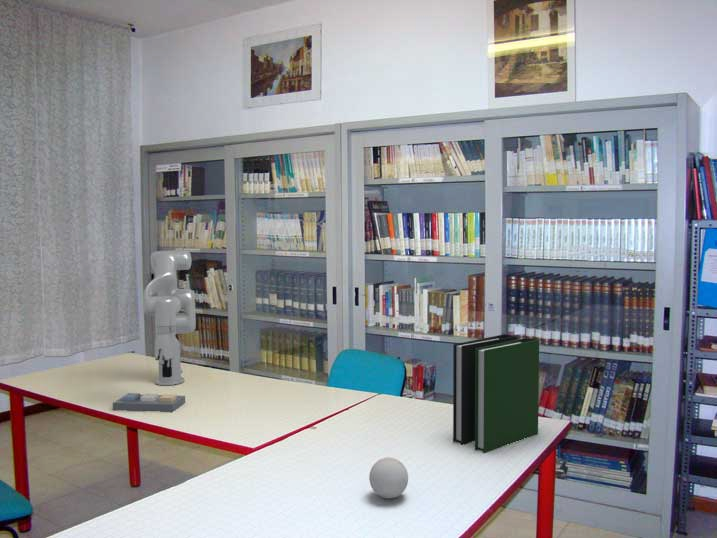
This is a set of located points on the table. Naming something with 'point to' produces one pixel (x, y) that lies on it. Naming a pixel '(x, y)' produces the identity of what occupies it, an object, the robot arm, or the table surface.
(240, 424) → the table surface
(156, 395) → the ivory key
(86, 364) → the table surface
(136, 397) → the slate key
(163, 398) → the tan key
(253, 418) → the table surface
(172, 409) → the keypad
